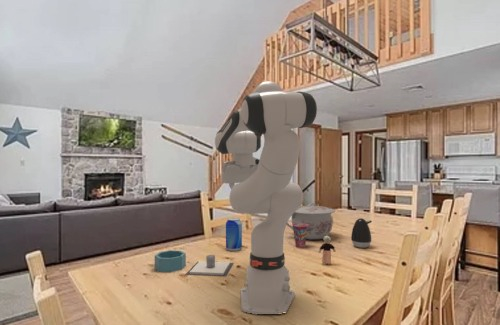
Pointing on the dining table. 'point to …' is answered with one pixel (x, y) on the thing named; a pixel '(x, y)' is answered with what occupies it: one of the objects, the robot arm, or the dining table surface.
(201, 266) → the cover board
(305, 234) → the cup
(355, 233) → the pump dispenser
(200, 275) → the mat
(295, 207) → the robot arm
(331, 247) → the grandmother figurine
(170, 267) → the bowl
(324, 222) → the chamber pot
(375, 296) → the dining table surface
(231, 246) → the beer can
